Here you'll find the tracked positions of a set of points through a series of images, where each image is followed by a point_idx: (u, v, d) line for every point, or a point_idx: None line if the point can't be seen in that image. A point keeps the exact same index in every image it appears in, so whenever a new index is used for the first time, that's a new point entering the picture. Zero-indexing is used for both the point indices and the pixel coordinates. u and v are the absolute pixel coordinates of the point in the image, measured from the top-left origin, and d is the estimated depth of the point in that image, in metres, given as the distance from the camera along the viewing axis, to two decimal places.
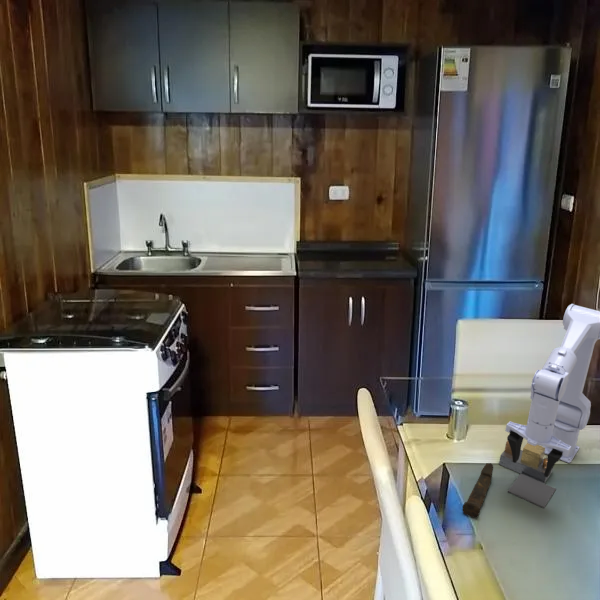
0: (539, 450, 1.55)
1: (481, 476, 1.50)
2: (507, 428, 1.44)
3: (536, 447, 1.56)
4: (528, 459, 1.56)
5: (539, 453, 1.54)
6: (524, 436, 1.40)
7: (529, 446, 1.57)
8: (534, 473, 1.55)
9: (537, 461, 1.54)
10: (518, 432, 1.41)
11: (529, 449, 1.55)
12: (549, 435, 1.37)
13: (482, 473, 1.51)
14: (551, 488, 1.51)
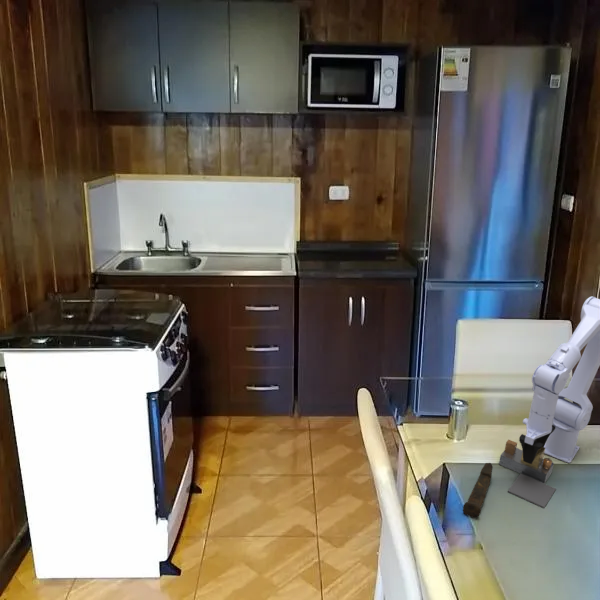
0: (539, 450, 1.55)
1: (481, 476, 1.50)
2: None
3: None
4: None
5: (539, 453, 1.54)
6: None
7: None
8: (534, 473, 1.55)
9: (537, 461, 1.54)
10: None
11: None
12: (533, 422, 1.51)
13: (482, 473, 1.51)
14: (551, 488, 1.51)
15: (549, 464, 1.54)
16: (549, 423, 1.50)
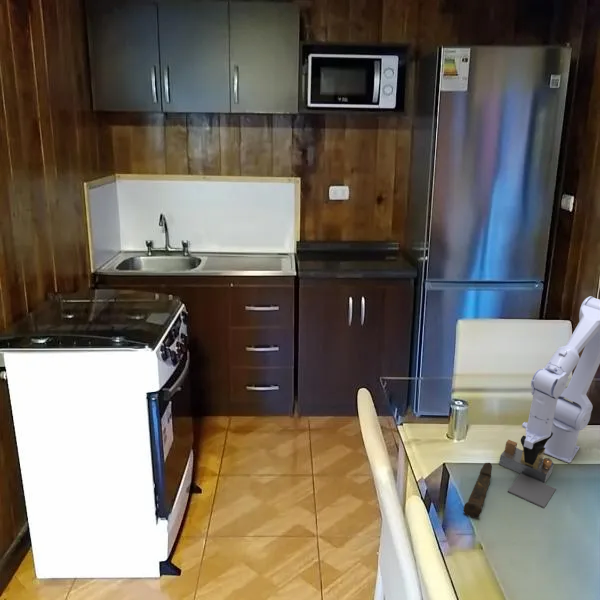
0: None
1: (480, 476, 1.50)
2: None
3: None
4: None
5: (539, 453, 1.54)
6: None
7: None
8: (534, 473, 1.55)
9: (537, 461, 1.54)
10: None
11: None
12: (532, 426, 1.52)
13: (481, 473, 1.51)
14: (551, 488, 1.51)
15: (549, 464, 1.54)
16: (548, 427, 1.51)
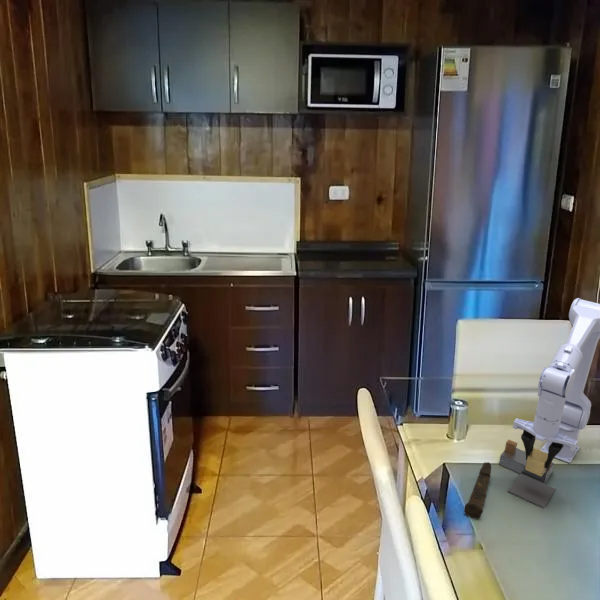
0: (541, 453, 1.47)
1: (480, 476, 1.50)
2: (514, 425, 1.48)
3: (537, 453, 1.47)
4: (545, 468, 1.46)
5: None
6: (532, 432, 1.44)
7: (537, 457, 1.46)
8: None
9: None
10: (526, 428, 1.45)
11: (545, 459, 1.45)
12: (556, 431, 1.41)
13: (481, 473, 1.51)
14: (551, 488, 1.51)
15: None
16: None
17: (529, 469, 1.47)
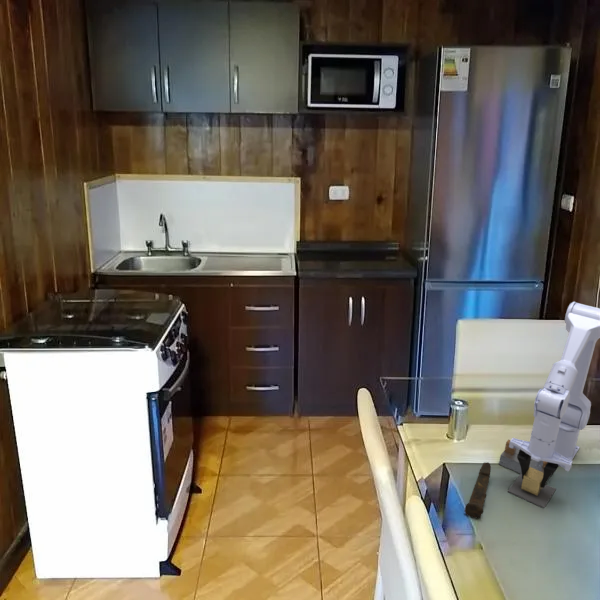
0: (537, 472, 1.49)
1: (480, 476, 1.50)
2: (510, 444, 1.50)
3: (533, 472, 1.49)
4: (540, 487, 1.48)
5: (543, 473, 1.49)
6: (527, 452, 1.46)
7: (533, 477, 1.48)
8: None
9: None
10: (521, 448, 1.47)
11: (540, 479, 1.47)
12: (551, 451, 1.44)
13: (481, 473, 1.51)
14: (551, 488, 1.51)
15: None
16: None
17: (525, 488, 1.49)
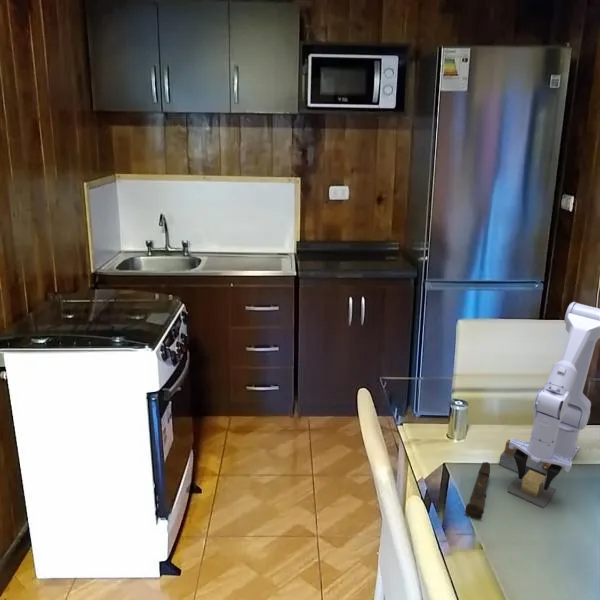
0: (537, 474, 1.50)
1: (479, 476, 1.50)
2: (510, 445, 1.50)
3: (532, 475, 1.50)
4: (540, 490, 1.48)
5: (543, 476, 1.49)
6: (527, 453, 1.46)
7: (532, 479, 1.48)
8: None
9: (543, 484, 1.50)
10: (521, 449, 1.47)
11: (540, 481, 1.47)
12: (551, 452, 1.44)
13: (480, 473, 1.51)
14: (551, 488, 1.51)
15: (549, 464, 1.54)
16: None
17: (524, 490, 1.49)
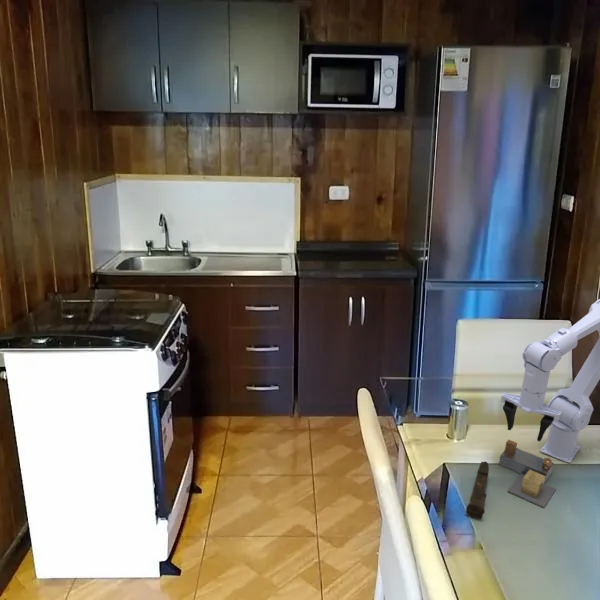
0: (537, 474, 1.50)
1: (479, 475, 1.50)
2: (502, 398, 1.57)
3: (532, 475, 1.50)
4: (540, 490, 1.48)
5: (543, 476, 1.49)
6: (518, 405, 1.53)
7: (532, 479, 1.48)
8: None
9: (543, 484, 1.50)
10: (513, 401, 1.54)
11: (540, 481, 1.47)
12: (541, 403, 1.51)
13: (479, 472, 1.51)
14: (551, 488, 1.51)
15: (549, 464, 1.54)
16: None
17: (524, 490, 1.49)
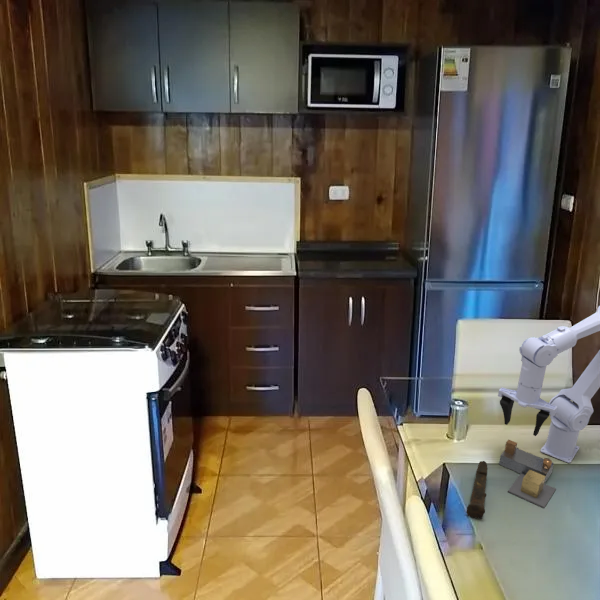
0: (537, 474, 1.50)
1: (478, 475, 1.50)
2: (499, 393, 1.59)
3: (532, 475, 1.50)
4: (540, 490, 1.48)
5: (543, 476, 1.49)
6: (515, 399, 1.55)
7: (532, 479, 1.48)
8: None
9: (543, 484, 1.50)
10: (509, 396, 1.57)
11: (540, 481, 1.47)
12: (537, 397, 1.53)
13: (478, 472, 1.51)
14: (551, 488, 1.51)
15: (549, 464, 1.54)
16: None
17: (524, 490, 1.49)
